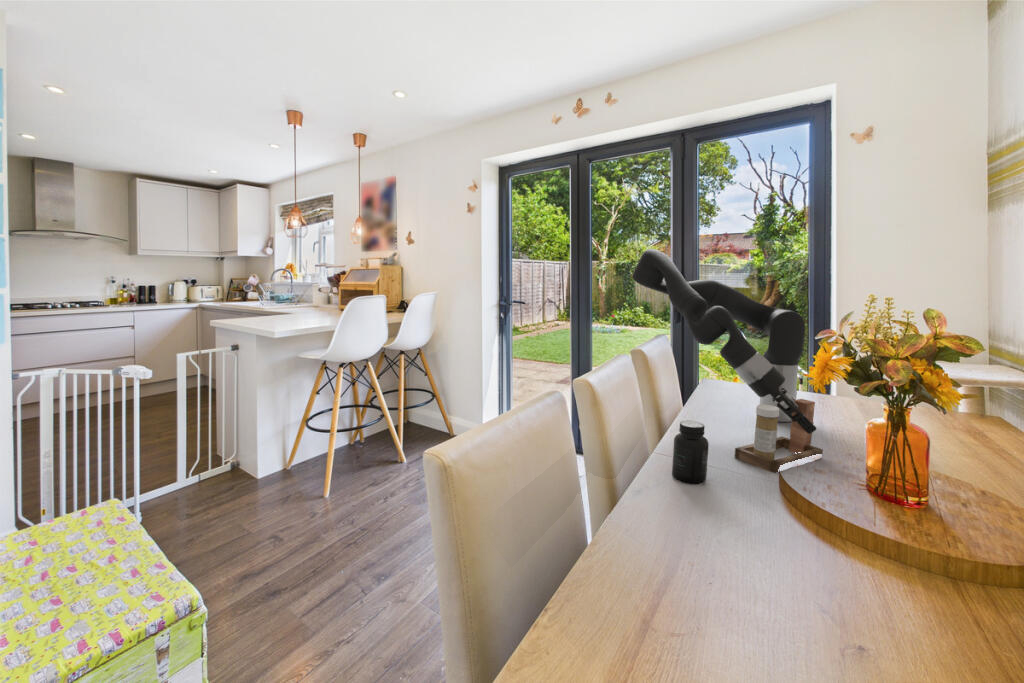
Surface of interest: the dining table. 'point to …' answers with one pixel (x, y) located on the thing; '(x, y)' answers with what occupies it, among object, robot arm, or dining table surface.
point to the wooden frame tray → (785, 443)
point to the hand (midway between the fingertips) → (811, 428)
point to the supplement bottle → (690, 453)
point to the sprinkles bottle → (766, 430)
